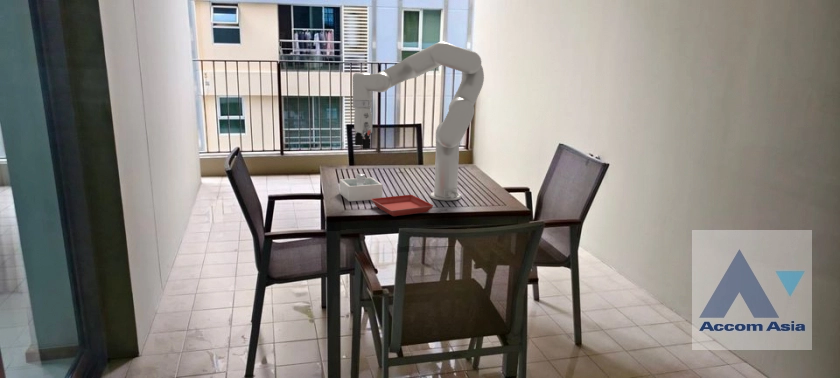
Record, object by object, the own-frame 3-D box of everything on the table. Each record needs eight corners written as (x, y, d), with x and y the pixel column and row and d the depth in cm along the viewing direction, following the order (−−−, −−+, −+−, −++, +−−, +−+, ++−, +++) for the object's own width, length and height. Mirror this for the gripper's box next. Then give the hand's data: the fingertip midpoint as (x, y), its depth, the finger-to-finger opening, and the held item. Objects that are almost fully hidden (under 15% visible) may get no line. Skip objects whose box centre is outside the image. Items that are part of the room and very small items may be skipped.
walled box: (382, 198, 232) (382, 184, 231) (348, 201, 227) (348, 186, 226) (371, 191, 245) (371, 177, 243) (339, 193, 239) (339, 179, 238)
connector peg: (366, 194, 235) (366, 175, 233) (357, 195, 233) (357, 175, 231) (363, 192, 238) (363, 173, 236) (355, 193, 237) (355, 174, 235)
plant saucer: (434, 213, 214) (434, 204, 214) (391, 219, 206) (391, 210, 205) (411, 202, 230) (411, 194, 229) (370, 207, 221) (370, 198, 220)
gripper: (378, 106, 222) (378, 149, 226) (364, 102, 237) (364, 143, 241) (359, 106, 219) (360, 150, 223) (347, 102, 234) (347, 144, 238)
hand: (362, 146), depth 232 cm, fingers open, 9 cm apart
